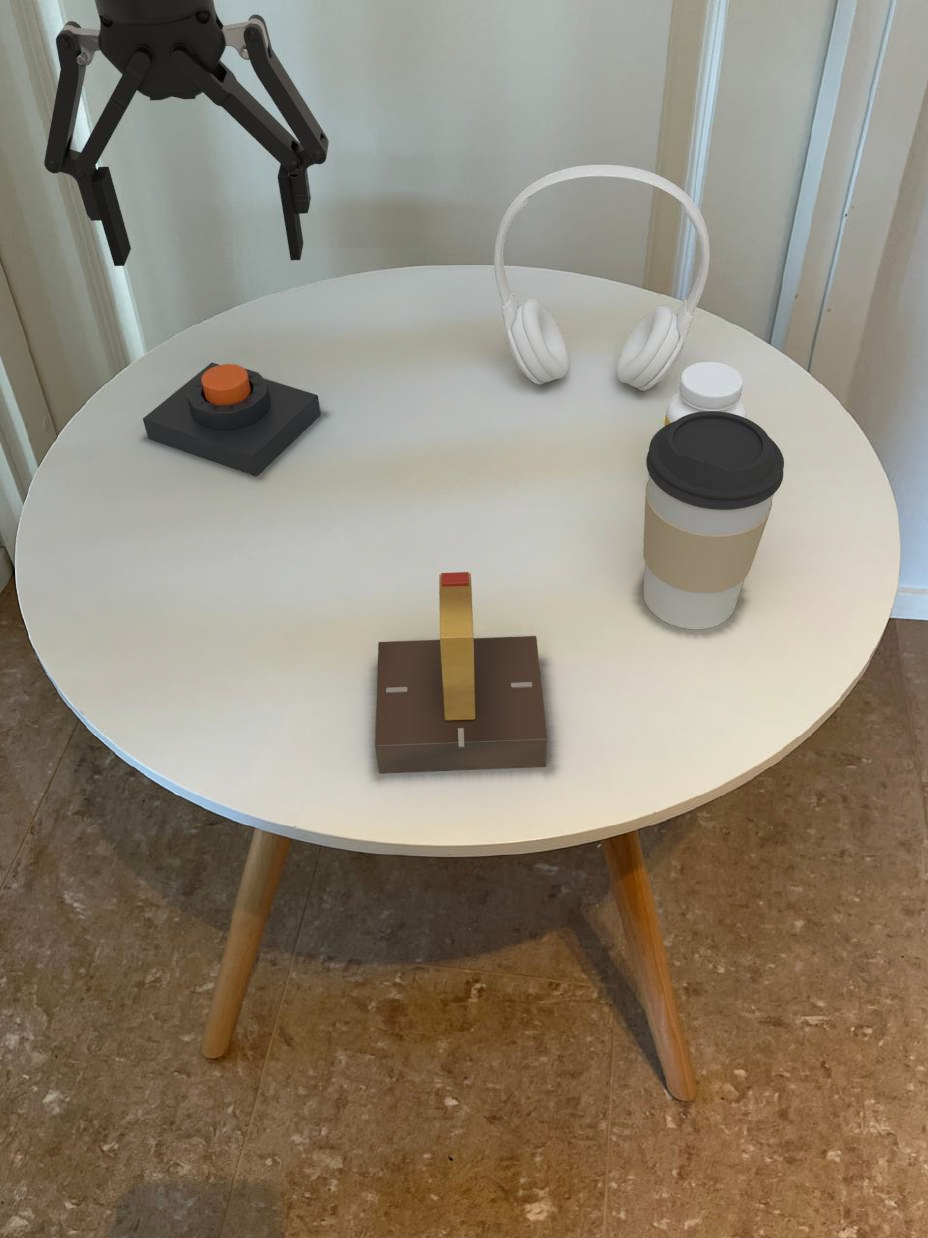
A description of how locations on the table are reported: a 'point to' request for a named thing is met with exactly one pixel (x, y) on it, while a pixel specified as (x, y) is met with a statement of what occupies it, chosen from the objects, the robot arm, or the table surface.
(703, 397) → the pill bottle
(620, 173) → the headphones
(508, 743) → the plate
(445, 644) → the lock knob
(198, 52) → the robot arm
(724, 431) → the coffee cup
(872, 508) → the table surface
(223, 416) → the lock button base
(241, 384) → the button
